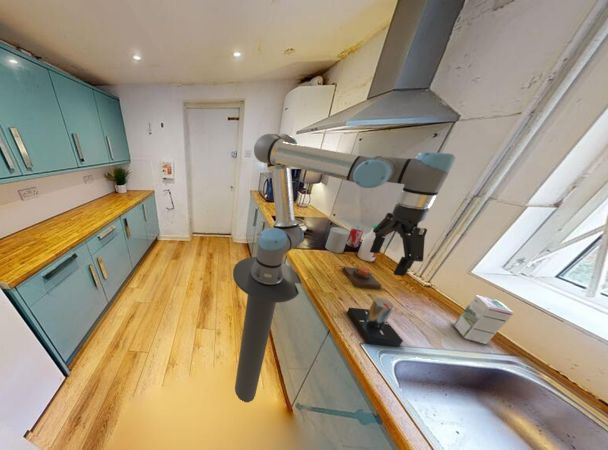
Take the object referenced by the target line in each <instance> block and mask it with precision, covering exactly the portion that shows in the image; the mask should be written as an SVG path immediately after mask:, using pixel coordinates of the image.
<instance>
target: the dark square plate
mask: <svg viewBox="0 0 608 450" xmlns="http://www.w3.org/2000/svg"><path fill="white" fill-rule="evenodd" d="M358 269H359V267H348V266H343V268H342V272H343V273H344V275H346V277H347V279H349V280H350V281H351V283H352V284H353V285H354V287H355V288H363V289H376V290H381V288H382V284H381V283H380V282H379V280H377V278H375V277H374V276H373V274H372V273H371V272H370V271H369V273H368V275H367V276H364V275H361V274H359V273H358V272H357V271H358Z"/></svg>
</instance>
